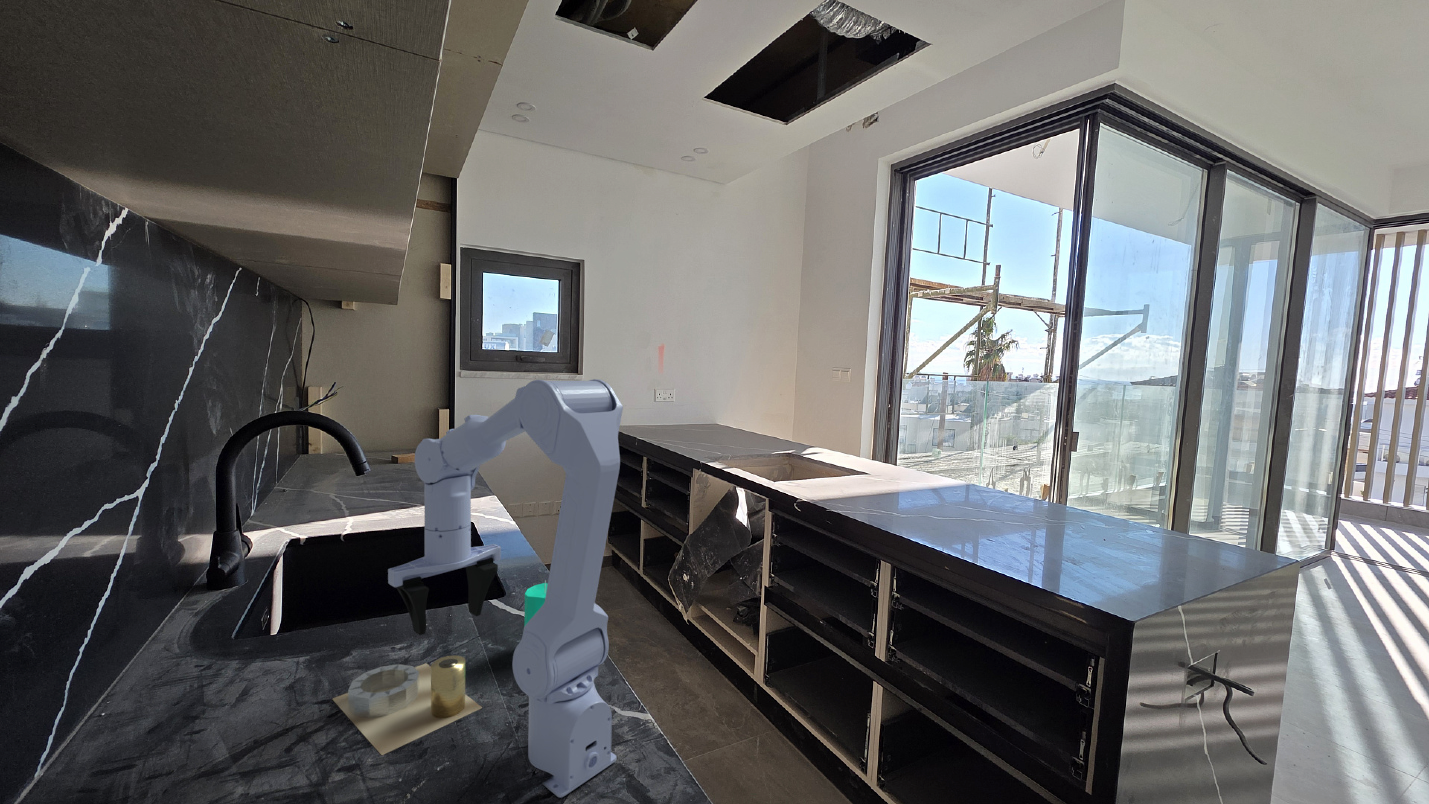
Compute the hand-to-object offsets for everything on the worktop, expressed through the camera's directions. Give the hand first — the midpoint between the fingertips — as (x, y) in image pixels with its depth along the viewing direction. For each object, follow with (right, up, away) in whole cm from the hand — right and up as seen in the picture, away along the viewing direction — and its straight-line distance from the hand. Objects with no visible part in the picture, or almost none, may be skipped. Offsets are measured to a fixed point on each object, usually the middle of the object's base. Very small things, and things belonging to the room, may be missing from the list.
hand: (448, 622), depth 78 cm
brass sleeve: (+2, -9, -5) cm, 11 cm away
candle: (+10, -10, +11) cm, 17 cm away
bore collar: (-7, -10, -4) cm, 12 cm away
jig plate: (-3, -10, -4) cm, 11 cm away
